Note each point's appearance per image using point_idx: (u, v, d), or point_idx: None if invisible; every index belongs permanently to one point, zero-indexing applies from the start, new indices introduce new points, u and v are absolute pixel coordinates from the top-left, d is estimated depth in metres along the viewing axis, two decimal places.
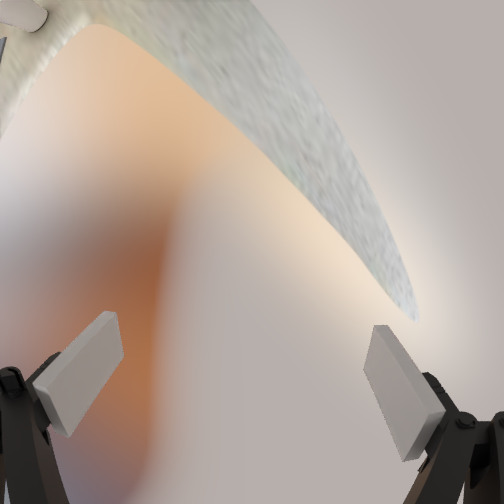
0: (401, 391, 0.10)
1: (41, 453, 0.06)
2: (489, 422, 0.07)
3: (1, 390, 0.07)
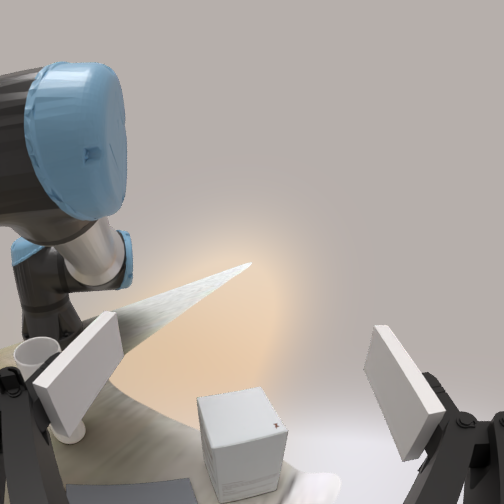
0: (401, 391, 0.10)
1: (41, 453, 0.06)
2: (489, 422, 0.07)
3: (1, 390, 0.07)
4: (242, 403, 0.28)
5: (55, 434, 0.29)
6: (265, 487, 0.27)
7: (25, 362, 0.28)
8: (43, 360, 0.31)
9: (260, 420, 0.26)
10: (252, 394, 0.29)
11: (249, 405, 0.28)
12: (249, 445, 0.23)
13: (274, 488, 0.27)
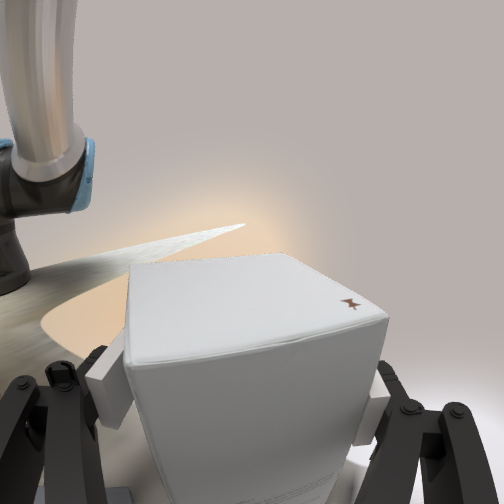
0: None
1: (86, 451, 0.07)
2: (439, 414, 0.08)
3: (51, 383, 0.08)
4: (243, 268, 0.12)
5: None
6: None
7: None
8: None
9: (299, 293, 0.09)
10: (266, 259, 0.13)
11: (261, 271, 0.11)
12: (274, 367, 0.07)
13: None
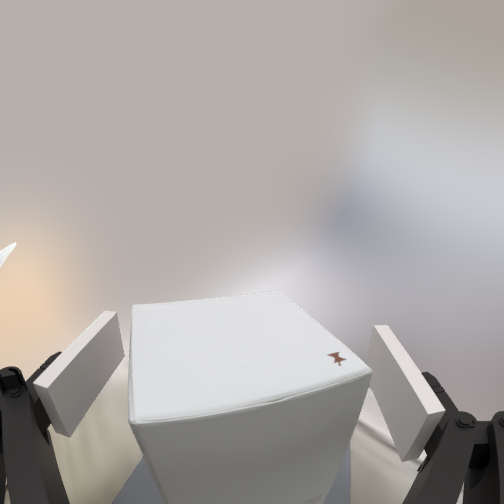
0: (400, 391, 0.10)
1: (41, 453, 0.06)
2: (488, 422, 0.07)
3: (1, 390, 0.07)
4: (239, 313, 0.12)
5: None
6: None
7: None
8: None
9: (289, 346, 0.10)
10: (262, 300, 0.13)
11: (256, 317, 0.12)
12: (260, 422, 0.07)
13: None
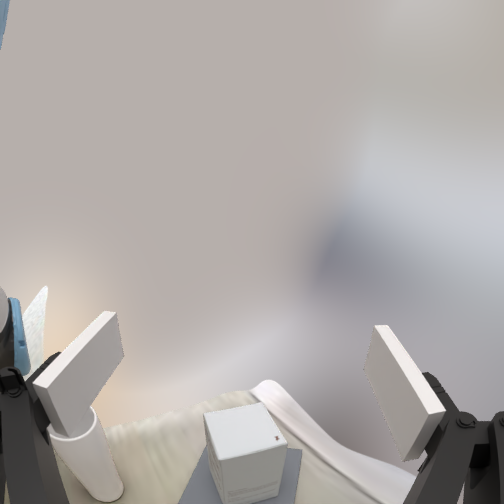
0: (401, 391, 0.10)
1: (41, 453, 0.06)
2: (489, 422, 0.07)
3: (1, 390, 0.07)
4: (245, 417, 0.29)
5: (110, 496, 0.25)
6: (267, 493, 0.28)
7: None
8: (56, 433, 0.24)
9: (262, 433, 0.27)
10: (254, 409, 0.31)
11: (252, 419, 0.29)
12: (252, 456, 0.25)
13: (275, 494, 0.29)
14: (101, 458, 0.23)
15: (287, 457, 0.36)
